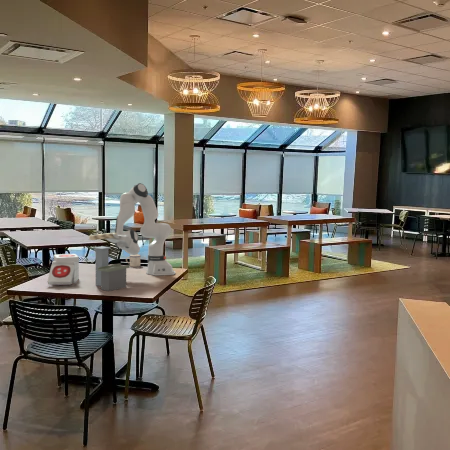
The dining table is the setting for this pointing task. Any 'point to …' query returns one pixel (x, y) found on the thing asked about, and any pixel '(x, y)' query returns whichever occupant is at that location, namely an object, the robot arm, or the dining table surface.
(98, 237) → the block
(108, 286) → the box with lid
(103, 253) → the plinth
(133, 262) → the teacup with lid
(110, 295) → the dining table surface
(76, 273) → the white box
